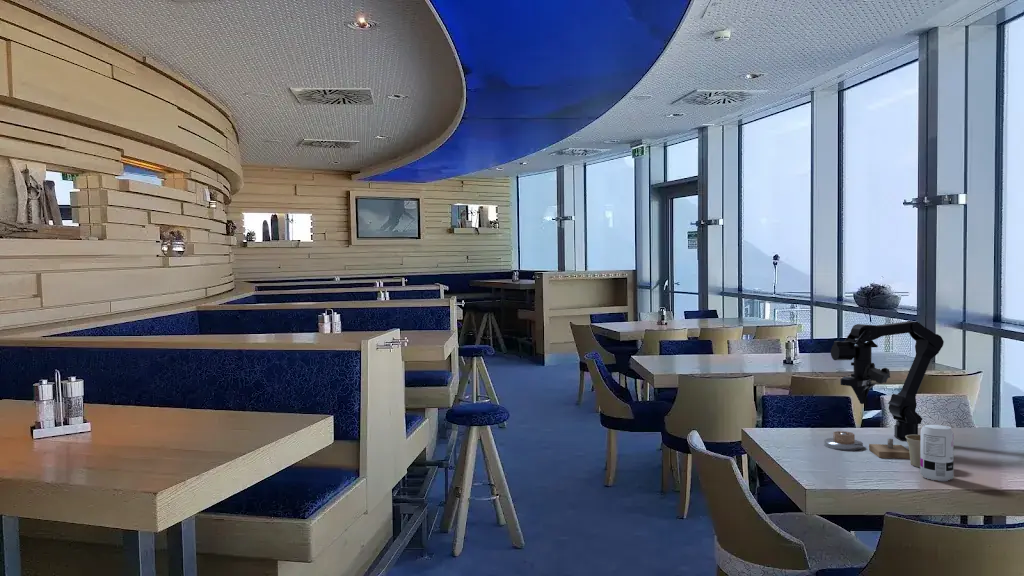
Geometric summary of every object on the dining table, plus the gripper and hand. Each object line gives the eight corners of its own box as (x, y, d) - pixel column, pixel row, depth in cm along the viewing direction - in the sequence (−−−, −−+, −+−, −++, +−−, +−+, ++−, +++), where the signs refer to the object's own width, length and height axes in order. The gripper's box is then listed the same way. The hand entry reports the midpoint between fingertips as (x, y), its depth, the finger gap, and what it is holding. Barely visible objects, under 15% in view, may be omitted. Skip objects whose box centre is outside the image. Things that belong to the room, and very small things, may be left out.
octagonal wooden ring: (840, 438, 247) (840, 430, 247) (857, 442, 242) (857, 433, 241) (830, 441, 243) (830, 432, 243) (847, 445, 238) (847, 436, 238)
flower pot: (938, 463, 220) (938, 436, 220) (942, 471, 212) (942, 442, 212) (904, 460, 224) (904, 433, 224) (906, 468, 216) (906, 439, 215)
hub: (856, 442, 247) (856, 429, 247) (867, 451, 236) (867, 437, 236) (820, 441, 250) (820, 428, 249) (829, 450, 238) (829, 436, 238)
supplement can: (914, 474, 209) (914, 423, 209) (940, 473, 210) (940, 423, 209) (932, 482, 201) (932, 430, 201) (960, 481, 202) (960, 429, 201)
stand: (901, 450, 236) (901, 436, 236) (912, 458, 226) (912, 443, 226) (869, 449, 237) (869, 435, 237) (879, 457, 228) (879, 442, 227)
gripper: (871, 364, 238) (870, 410, 239) (899, 360, 249) (898, 404, 249) (839, 361, 247) (839, 405, 248) (867, 357, 258) (867, 399, 258)
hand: (862, 403), depth 251 cm, fingers closed
